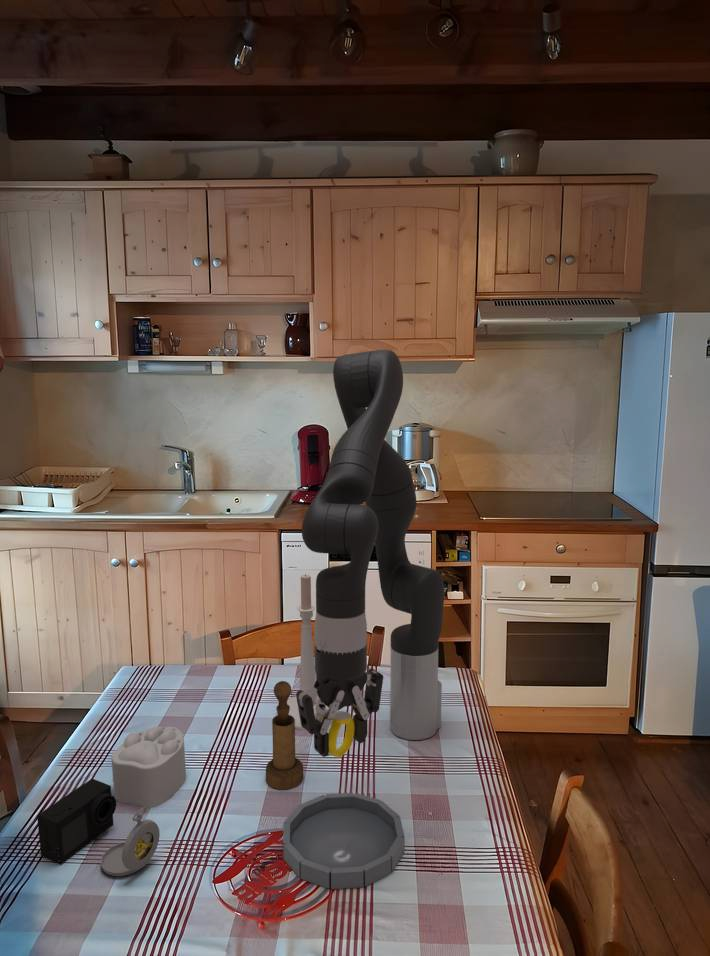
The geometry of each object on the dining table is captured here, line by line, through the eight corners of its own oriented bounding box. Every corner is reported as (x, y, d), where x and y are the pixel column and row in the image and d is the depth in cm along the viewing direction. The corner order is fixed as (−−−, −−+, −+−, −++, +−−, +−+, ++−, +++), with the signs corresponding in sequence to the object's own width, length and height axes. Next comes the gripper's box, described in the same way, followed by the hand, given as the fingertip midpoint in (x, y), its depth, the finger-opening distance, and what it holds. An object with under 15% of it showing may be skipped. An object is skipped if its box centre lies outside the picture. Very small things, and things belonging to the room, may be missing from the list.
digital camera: (65, 868, 105) (61, 825, 104) (40, 856, 108) (36, 814, 106) (119, 827, 114) (116, 787, 113) (95, 816, 117) (92, 777, 115)
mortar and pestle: (297, 792, 123) (295, 693, 119) (260, 787, 124) (257, 689, 121) (307, 769, 129) (305, 675, 126) (272, 765, 130) (270, 672, 127)
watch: (342, 742, 110) (343, 705, 109) (358, 747, 109) (360, 709, 108) (322, 759, 105) (323, 720, 104) (339, 764, 104) (340, 724, 103)
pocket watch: (107, 848, 109) (103, 788, 107) (164, 845, 110) (160, 785, 108) (92, 888, 101) (87, 824, 99) (154, 884, 102) (150, 821, 100)
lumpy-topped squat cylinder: (105, 799, 121) (101, 752, 119) (149, 757, 133) (146, 714, 132) (159, 811, 118) (156, 762, 116) (199, 767, 130) (197, 722, 129)
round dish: (358, 793, 122) (357, 780, 122) (427, 854, 107) (427, 839, 107) (262, 834, 112) (262, 820, 111) (324, 907, 97) (324, 891, 97)
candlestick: (351, 708, 150) (350, 570, 145) (315, 736, 140) (313, 588, 134) (301, 693, 157) (299, 560, 152) (264, 718, 147) (259, 577, 141)
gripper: (366, 621, 111) (366, 722, 114) (284, 642, 103) (286, 750, 106) (396, 637, 105) (395, 743, 108) (311, 661, 97) (312, 775, 100)
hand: (341, 746), depth 107 cm, fingers closed on watch, 6 cm apart
